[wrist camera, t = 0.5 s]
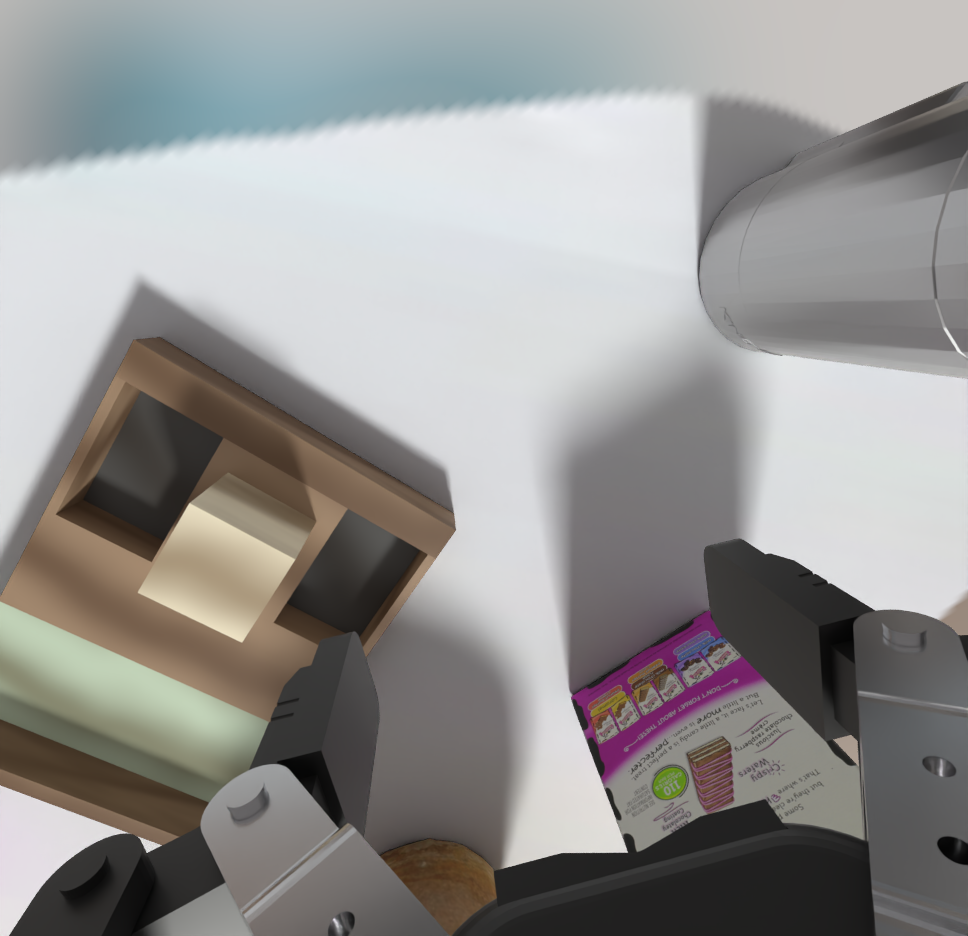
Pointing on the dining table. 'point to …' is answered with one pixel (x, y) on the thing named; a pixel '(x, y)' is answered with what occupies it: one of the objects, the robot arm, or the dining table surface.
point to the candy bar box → (708, 742)
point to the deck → (165, 632)
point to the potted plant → (444, 879)
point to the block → (227, 556)
